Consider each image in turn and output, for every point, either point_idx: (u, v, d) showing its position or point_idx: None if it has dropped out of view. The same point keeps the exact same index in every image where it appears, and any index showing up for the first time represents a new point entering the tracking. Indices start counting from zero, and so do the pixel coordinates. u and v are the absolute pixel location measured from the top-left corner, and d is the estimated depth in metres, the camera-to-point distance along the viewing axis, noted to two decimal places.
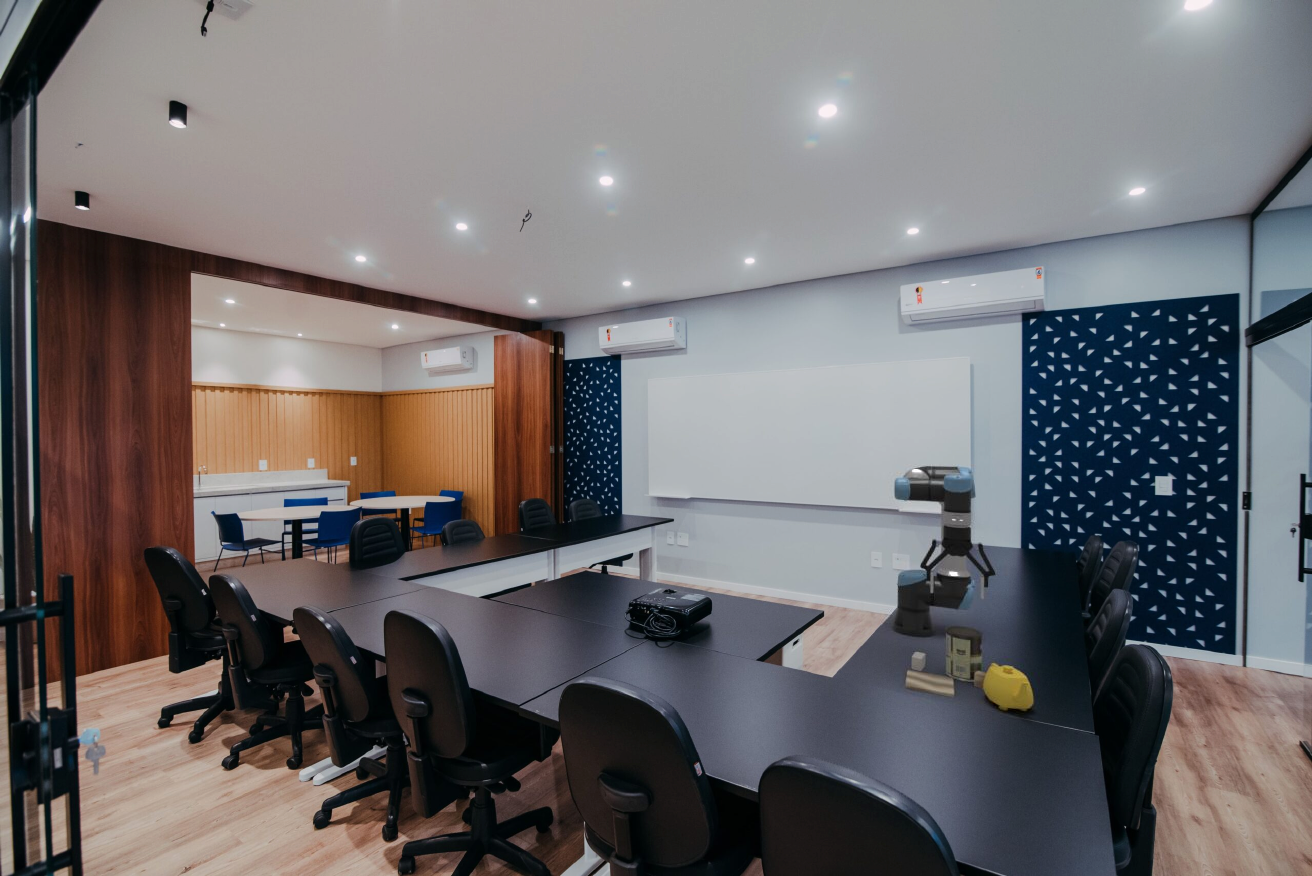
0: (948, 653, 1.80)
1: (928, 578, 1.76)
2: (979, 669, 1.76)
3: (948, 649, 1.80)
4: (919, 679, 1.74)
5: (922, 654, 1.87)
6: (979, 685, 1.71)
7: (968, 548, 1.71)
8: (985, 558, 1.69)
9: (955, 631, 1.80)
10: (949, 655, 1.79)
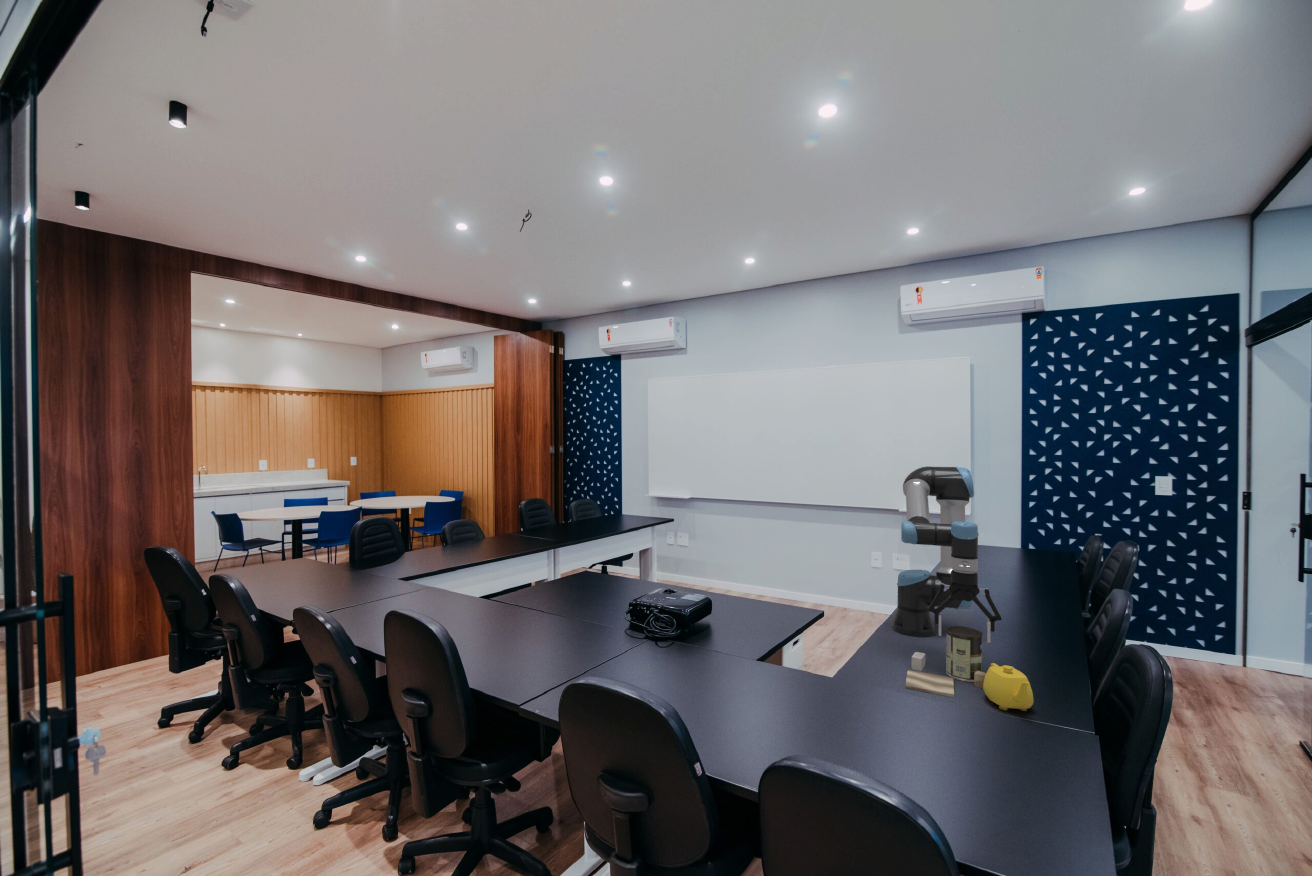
0: (948, 653, 1.80)
1: (936, 621, 1.82)
2: (979, 669, 1.76)
3: (948, 649, 1.80)
4: (919, 679, 1.74)
5: (922, 654, 1.87)
6: (979, 685, 1.71)
7: (975, 593, 1.77)
8: (992, 603, 1.75)
9: (955, 631, 1.80)
10: (949, 655, 1.79)
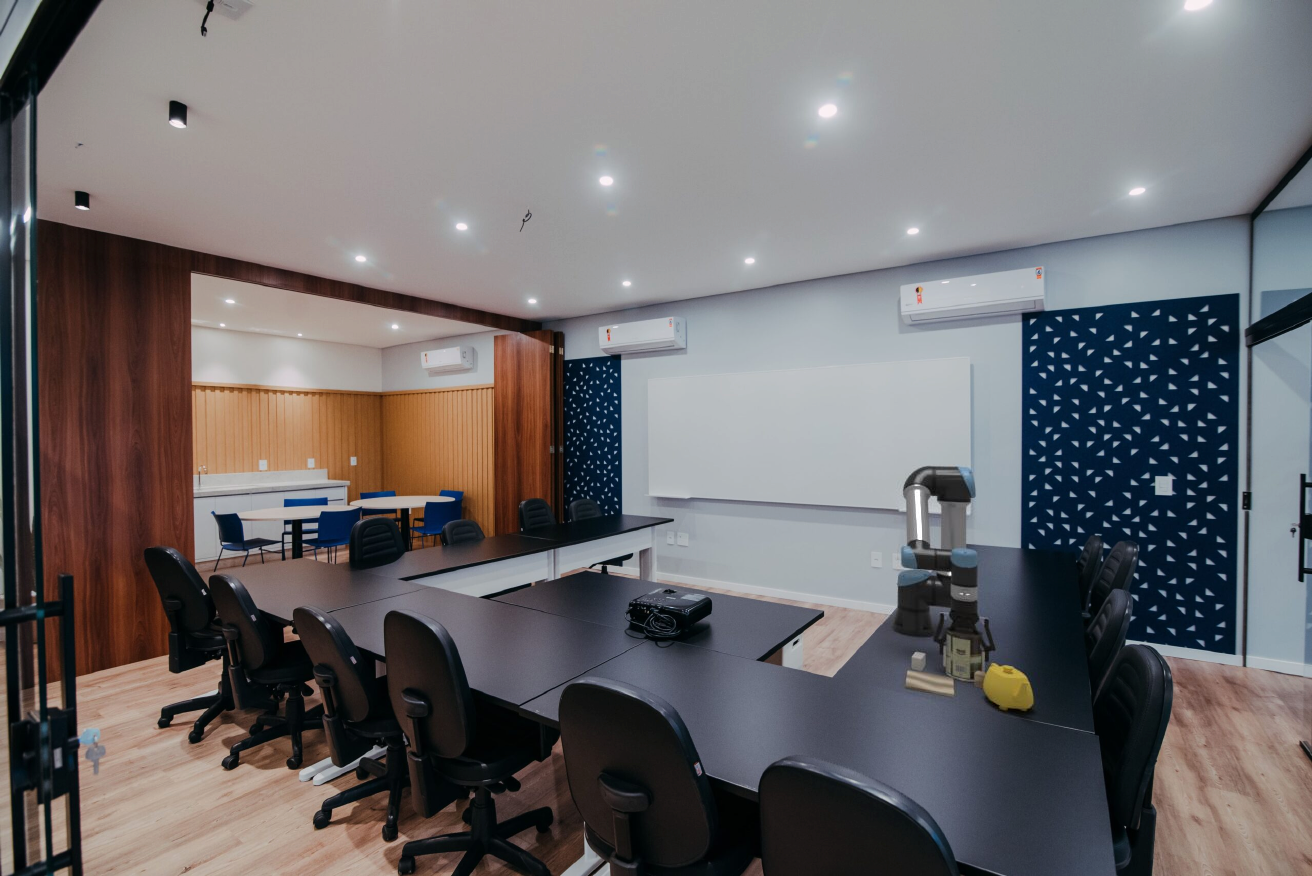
0: (948, 653, 1.80)
1: (941, 652, 1.82)
2: (979, 669, 1.76)
3: (948, 649, 1.80)
4: (919, 679, 1.74)
5: (922, 654, 1.87)
6: (979, 685, 1.71)
7: (975, 621, 1.77)
8: (989, 633, 1.76)
9: (955, 631, 1.80)
10: (949, 655, 1.79)
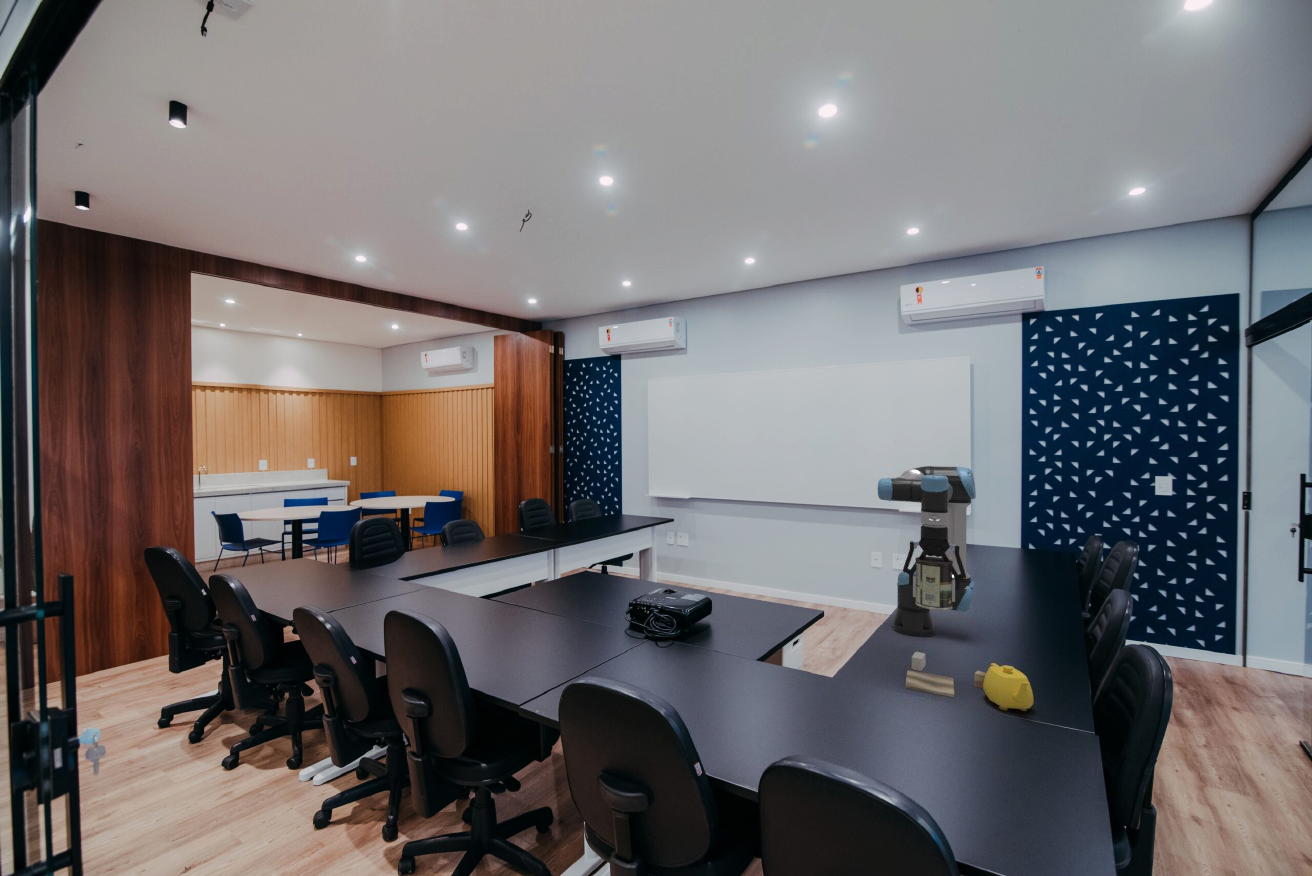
0: (918, 582, 1.73)
1: (911, 582, 1.75)
2: (949, 597, 1.69)
3: (918, 578, 1.73)
4: (919, 679, 1.74)
5: (922, 654, 1.87)
6: (979, 685, 1.71)
7: (945, 548, 1.71)
8: (959, 560, 1.69)
9: (925, 560, 1.73)
10: (919, 584, 1.72)
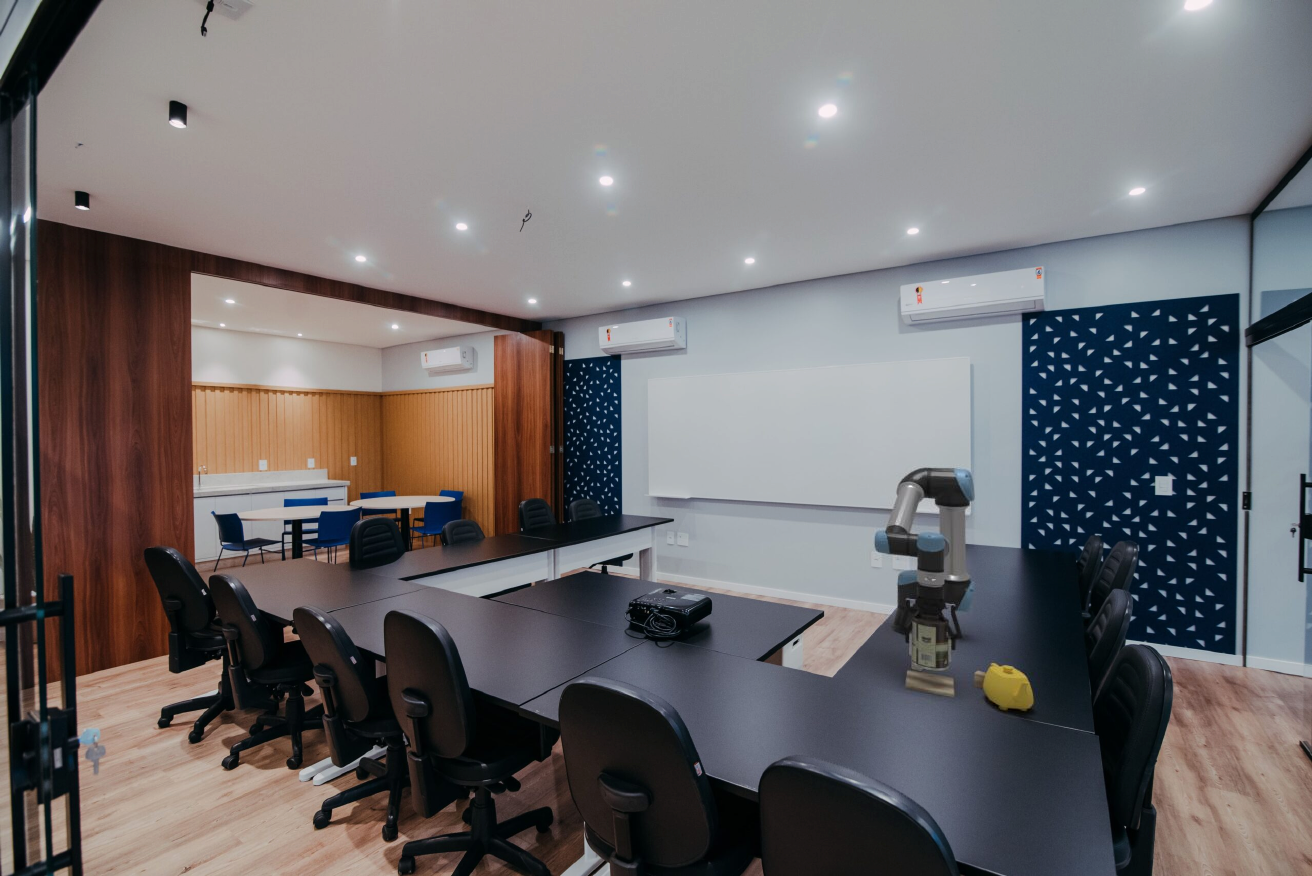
0: (914, 641, 1.73)
1: (907, 640, 1.75)
2: (945, 657, 1.69)
3: (914, 637, 1.73)
4: (919, 679, 1.74)
5: None
6: (979, 685, 1.71)
7: (941, 607, 1.71)
8: (955, 620, 1.69)
9: (921, 618, 1.73)
10: (915, 643, 1.72)
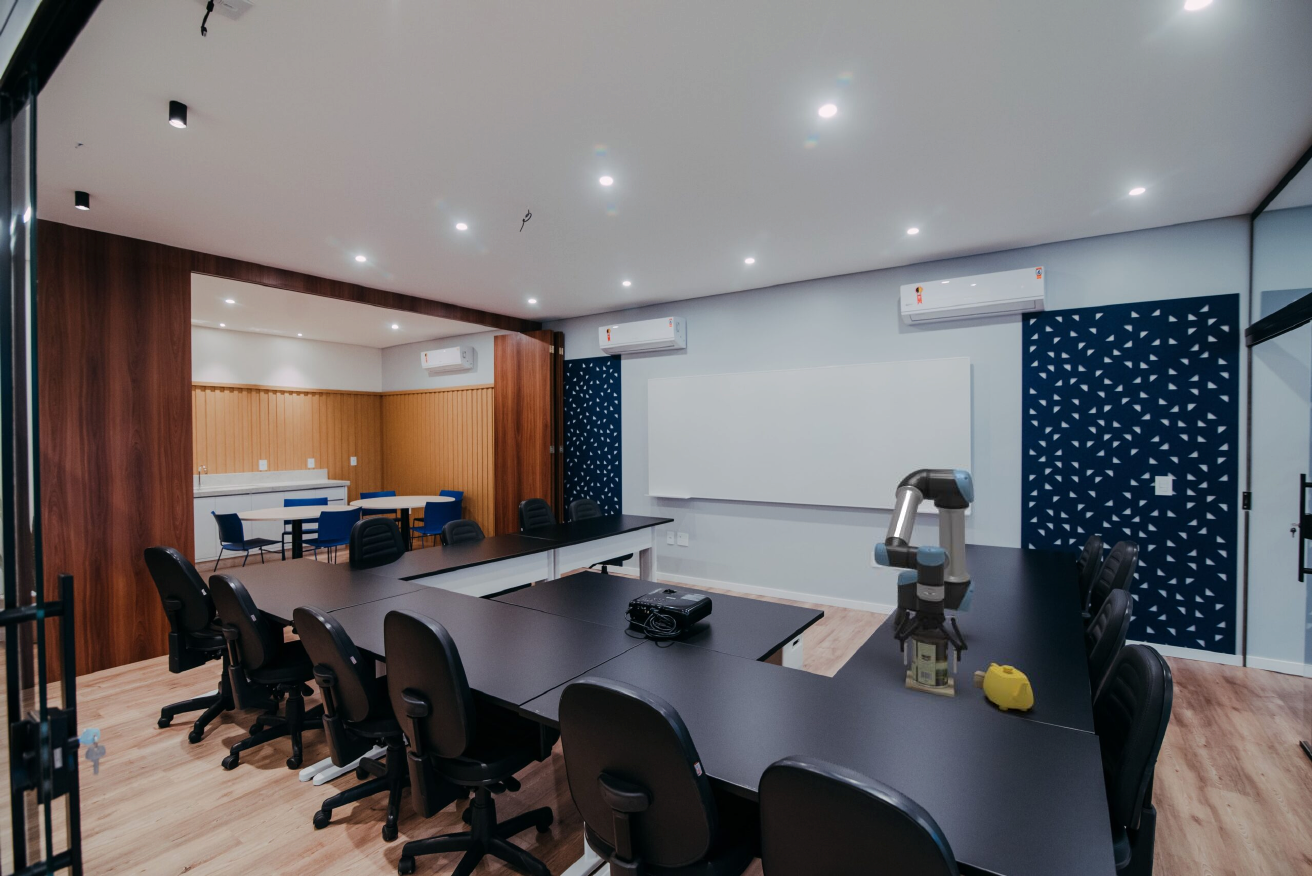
0: (913, 658, 1.73)
1: (902, 649, 1.76)
2: (945, 675, 1.69)
3: (913, 654, 1.73)
4: None
5: None
6: (979, 685, 1.71)
7: (941, 621, 1.71)
8: (958, 632, 1.68)
9: (921, 636, 1.73)
10: (914, 660, 1.72)
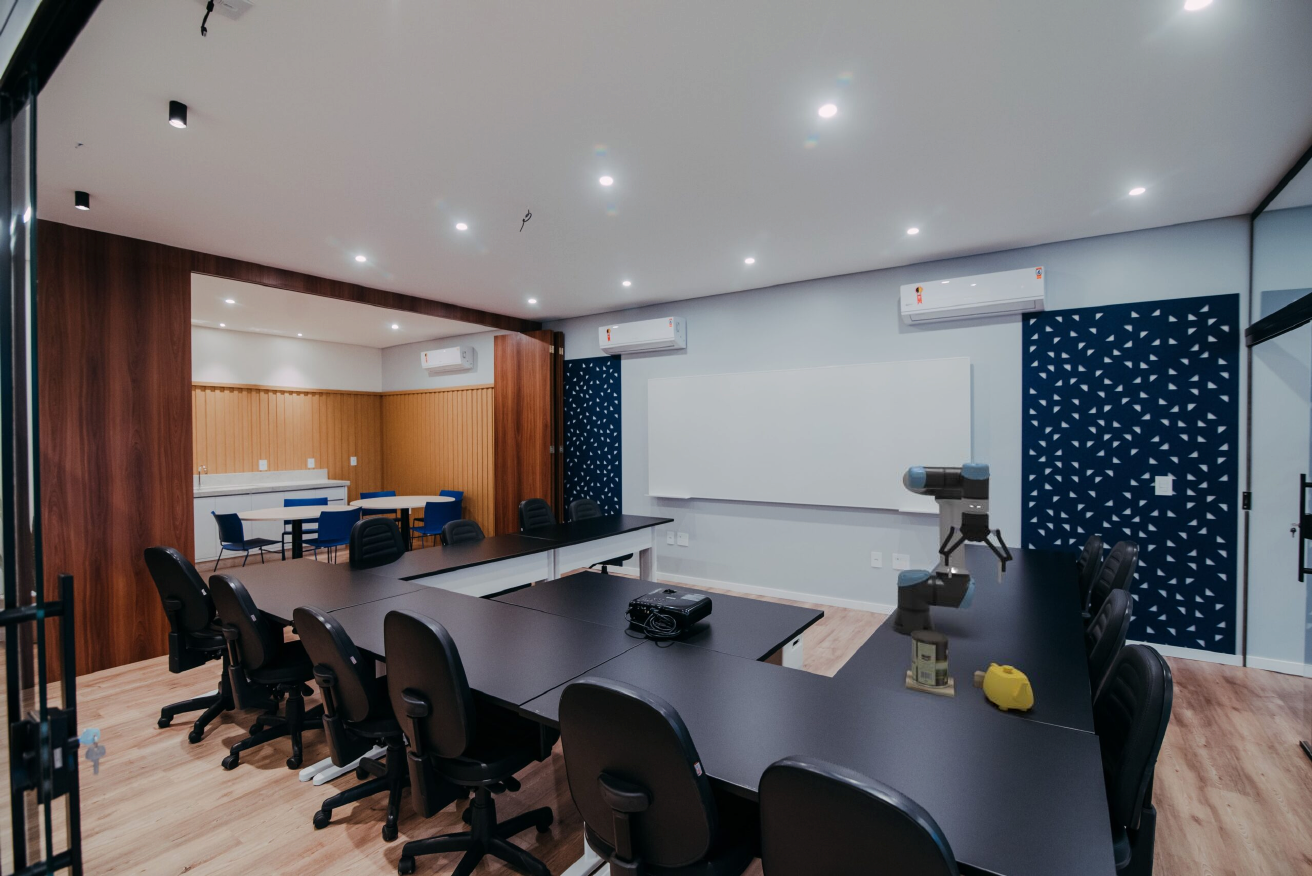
0: (913, 658, 1.73)
1: (946, 563, 1.81)
2: (945, 675, 1.69)
3: (913, 654, 1.73)
4: None
5: None
6: (979, 685, 1.71)
7: (986, 534, 1.75)
8: (1003, 544, 1.73)
9: (921, 636, 1.73)
10: (914, 660, 1.72)
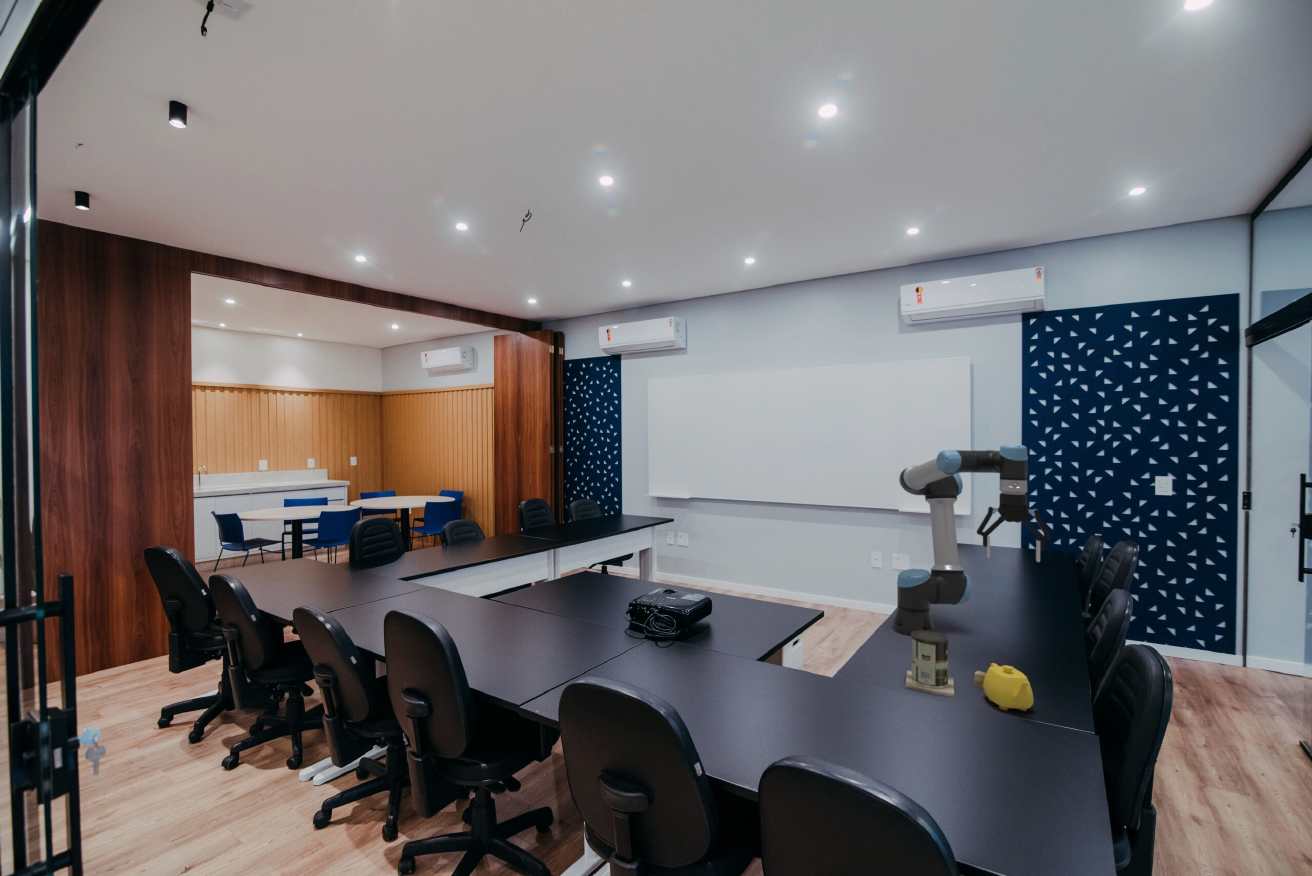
0: (913, 658, 1.73)
1: (985, 544, 1.84)
2: (945, 675, 1.69)
3: (913, 654, 1.73)
4: None
5: None
6: (979, 685, 1.71)
7: (1024, 514, 1.79)
8: (1041, 523, 1.77)
9: (921, 636, 1.73)
10: (914, 660, 1.72)
